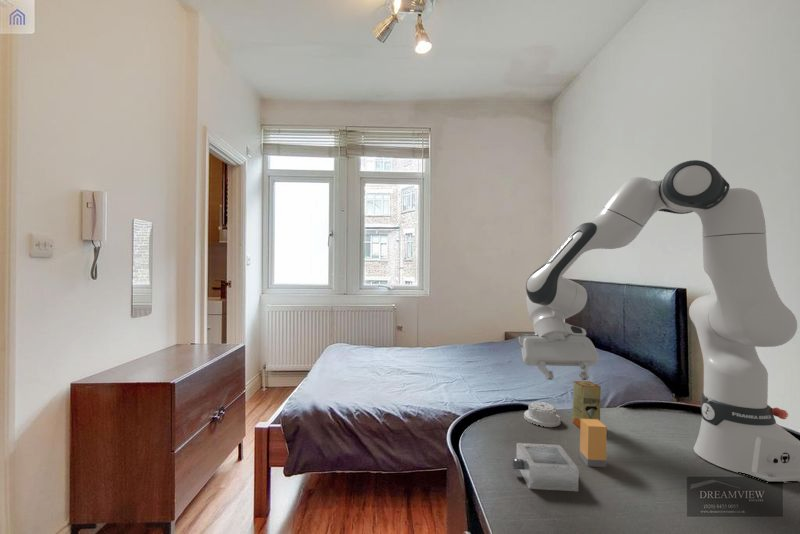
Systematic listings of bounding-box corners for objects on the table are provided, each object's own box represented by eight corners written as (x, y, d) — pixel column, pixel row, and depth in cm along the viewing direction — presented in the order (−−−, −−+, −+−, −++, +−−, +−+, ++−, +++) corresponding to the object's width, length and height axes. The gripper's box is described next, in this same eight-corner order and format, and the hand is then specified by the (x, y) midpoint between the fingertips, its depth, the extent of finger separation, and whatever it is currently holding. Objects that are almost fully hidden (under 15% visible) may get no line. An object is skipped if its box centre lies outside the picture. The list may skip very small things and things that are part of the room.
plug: (597, 457, 85) (597, 419, 85) (605, 467, 81) (606, 426, 81) (579, 456, 85) (580, 418, 85) (587, 466, 81) (588, 426, 81)
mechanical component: (526, 426, 101) (564, 430, 99) (526, 410, 101) (564, 414, 99) (522, 412, 111) (556, 415, 109) (522, 398, 111) (556, 401, 109)
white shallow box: (559, 464, 81) (560, 444, 81) (578, 491, 71) (578, 468, 71) (507, 462, 82) (507, 442, 82) (518, 488, 72) (519, 465, 72)
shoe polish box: (572, 422, 104) (573, 381, 104) (589, 422, 104) (590, 381, 104) (582, 430, 99) (583, 386, 99) (599, 430, 99) (600, 387, 99)
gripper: (519, 327, 102) (532, 372, 92) (590, 329, 103) (610, 373, 93) (513, 340, 107) (525, 384, 97) (581, 341, 107) (600, 385, 97)
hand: (567, 379), depth 95 cm, fingers open, 8 cm apart
